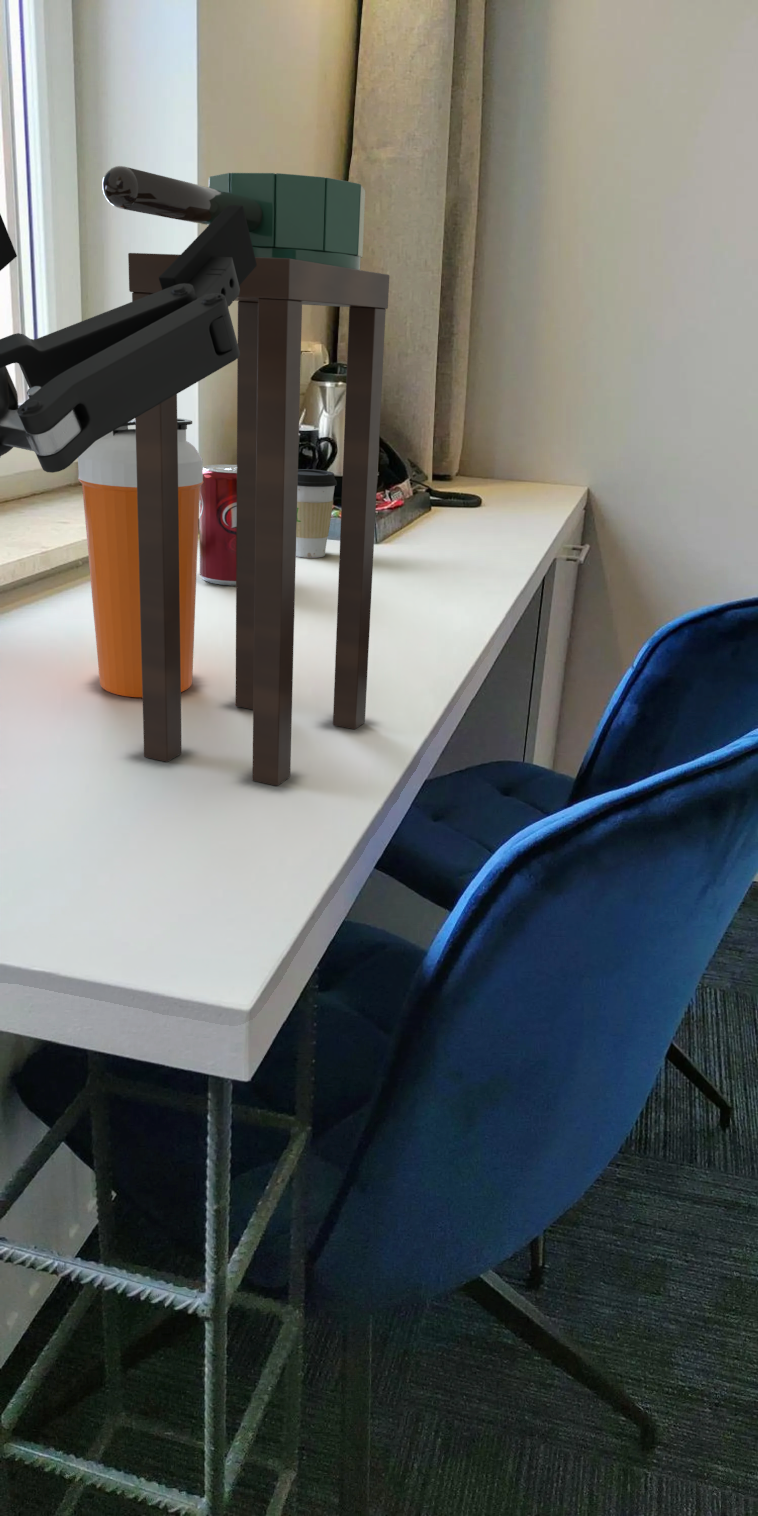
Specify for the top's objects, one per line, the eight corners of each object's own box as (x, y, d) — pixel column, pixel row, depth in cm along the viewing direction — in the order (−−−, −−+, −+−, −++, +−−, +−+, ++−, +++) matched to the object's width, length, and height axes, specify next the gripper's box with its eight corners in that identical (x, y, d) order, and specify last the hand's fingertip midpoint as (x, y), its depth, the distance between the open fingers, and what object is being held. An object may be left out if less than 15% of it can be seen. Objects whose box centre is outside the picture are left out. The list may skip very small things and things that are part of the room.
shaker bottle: (200, 703, 83) (198, 425, 76) (78, 700, 82) (64, 418, 75) (207, 669, 91) (206, 414, 84) (96, 666, 90) (86, 409, 83)
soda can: (185, 578, 122) (184, 466, 118) (230, 569, 128) (230, 462, 123) (235, 589, 118) (236, 474, 114) (279, 580, 124) (281, 469, 120)
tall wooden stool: (278, 787, 69) (289, 258, 58) (141, 757, 72) (127, 252, 61) (367, 722, 81) (389, 274, 70) (246, 699, 84) (250, 269, 74)
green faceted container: (254, 269, 73) (255, 191, 72) (385, 274, 70) (389, 193, 69) (31, 239, 54) (25, 131, 52) (198, 244, 51) (198, 130, 49)
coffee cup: (295, 547, 142) (297, 467, 139) (342, 553, 140) (345, 472, 137) (272, 555, 137) (274, 472, 133) (321, 561, 134) (324, 477, 131)
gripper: (-347, 546, 47) (-57, 296, 60) (149, 633, 39) (370, 320, 51) (-474, 389, 42) (-125, 148, 54) (74, 450, 33) (342, 147, 45)
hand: (116, 231), depth 52 cm, fingers open, 13 cm apart
